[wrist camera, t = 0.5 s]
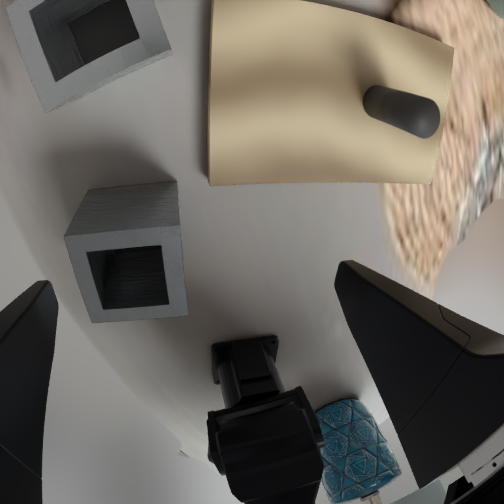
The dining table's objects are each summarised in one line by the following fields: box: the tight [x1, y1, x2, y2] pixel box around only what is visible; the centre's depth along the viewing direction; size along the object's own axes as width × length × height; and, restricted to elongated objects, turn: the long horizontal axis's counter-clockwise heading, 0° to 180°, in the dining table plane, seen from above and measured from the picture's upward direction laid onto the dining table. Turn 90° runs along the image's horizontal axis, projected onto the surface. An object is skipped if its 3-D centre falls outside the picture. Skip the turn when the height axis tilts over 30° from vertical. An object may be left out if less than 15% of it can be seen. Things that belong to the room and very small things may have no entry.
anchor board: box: [208, 0, 454, 186], centre depth 17 cm, size 12×18×6 cm, turn 88°
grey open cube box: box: [6, 0, 172, 113], centre depth 11 cm, size 6×6×6 cm
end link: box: [64, 181, 188, 323], centre depth 19 cm, size 6×6×6 cm
